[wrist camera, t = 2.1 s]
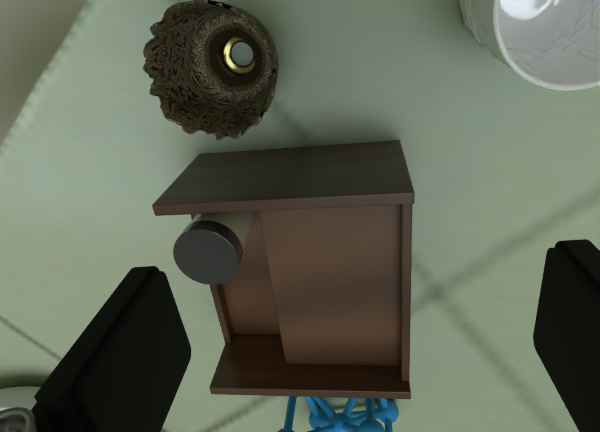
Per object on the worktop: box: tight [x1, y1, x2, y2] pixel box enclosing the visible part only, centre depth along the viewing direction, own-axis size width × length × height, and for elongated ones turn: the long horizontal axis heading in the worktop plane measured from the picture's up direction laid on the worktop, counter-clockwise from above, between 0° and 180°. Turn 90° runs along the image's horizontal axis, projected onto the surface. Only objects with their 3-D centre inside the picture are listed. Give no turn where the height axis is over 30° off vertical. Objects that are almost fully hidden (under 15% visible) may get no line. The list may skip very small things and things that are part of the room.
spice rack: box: [152, 141, 414, 399], centre depth 33 cm, size 18×16×9 cm
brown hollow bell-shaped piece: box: [143, 0, 278, 140], centre depth 26 cm, size 8×7×8 cm
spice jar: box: [173, 211, 259, 285], centre depth 29 cm, size 4×4×7 cm
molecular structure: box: [278, 396, 399, 432], centre depth 41 cm, size 10×10×10 cm
